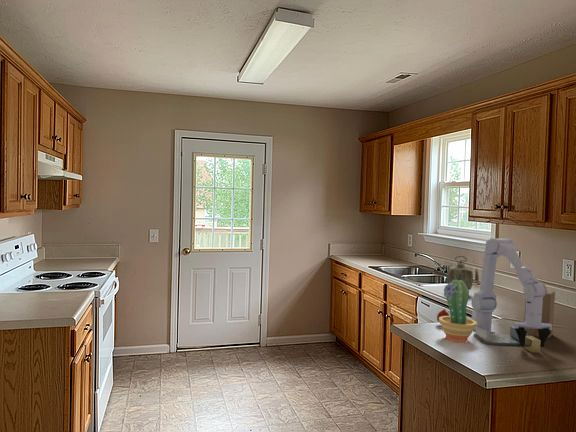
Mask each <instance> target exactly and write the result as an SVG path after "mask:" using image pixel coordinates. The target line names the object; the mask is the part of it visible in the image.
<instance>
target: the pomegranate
mask: <svg viewBox="0 0 576 432" xmlns="http://www.w3.org/2000/svg"><path fill="white" fill-rule="evenodd" d="M442 316H450V313H449V312H447V311H446V309H445V308H443V309H442V310H441V311H439V312H438V313H437V316H436V318H437V322H438V323H439V317H442ZM439 324H440V325H441V323H439Z"/></svg>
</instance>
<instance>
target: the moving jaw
mask: <svg viewBox="0 0 576 432" xmlns="http://www.w3.org/2000/svg"><path fill="white" fill-rule="evenodd" d="M509 329H510V331H509V335H511V336H512V337H514V338H516V339H517V340H519V338H518V335H517V332H516V330H515V327H514V325H510V328H509ZM526 336H529V335H528V333H527V334H526Z"/></svg>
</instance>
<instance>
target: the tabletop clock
mask: <svg viewBox="0 0 576 432" xmlns="http://www.w3.org/2000/svg"><path fill="white" fill-rule="evenodd" d="M458 258H464V259H465V260H464V261H463V260H457V259H458ZM454 259H455V261H456V262H457V264H456V266H449V267H448V268H447V273H446V285H448V284H449V283H451V282H452V280H454V281H455V280H458V281H460V280H462V281H463V282H464V283H465V285H466V286H467V288H468V290H469V291H470V290H471V289H472V287H473V282H474V275H473V274H474V273H473V270H472V269H470V268H469V267H466V266H465V264H464V263H466V262H467V257H466V256H463V255H458V256H456V257H455V258H454Z"/></svg>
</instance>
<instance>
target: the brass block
mask: <svg viewBox="0 0 576 432" xmlns="http://www.w3.org/2000/svg"><path fill="white" fill-rule="evenodd" d="M540 344H541V340H539V338H538V337H536V336H531V335H527V336H526V337H525V346H524V347H522V348H523V349H525V350H527V351H528V352H530V353H535V354H537V353H539V354H540V353H541V347H540Z"/></svg>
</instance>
